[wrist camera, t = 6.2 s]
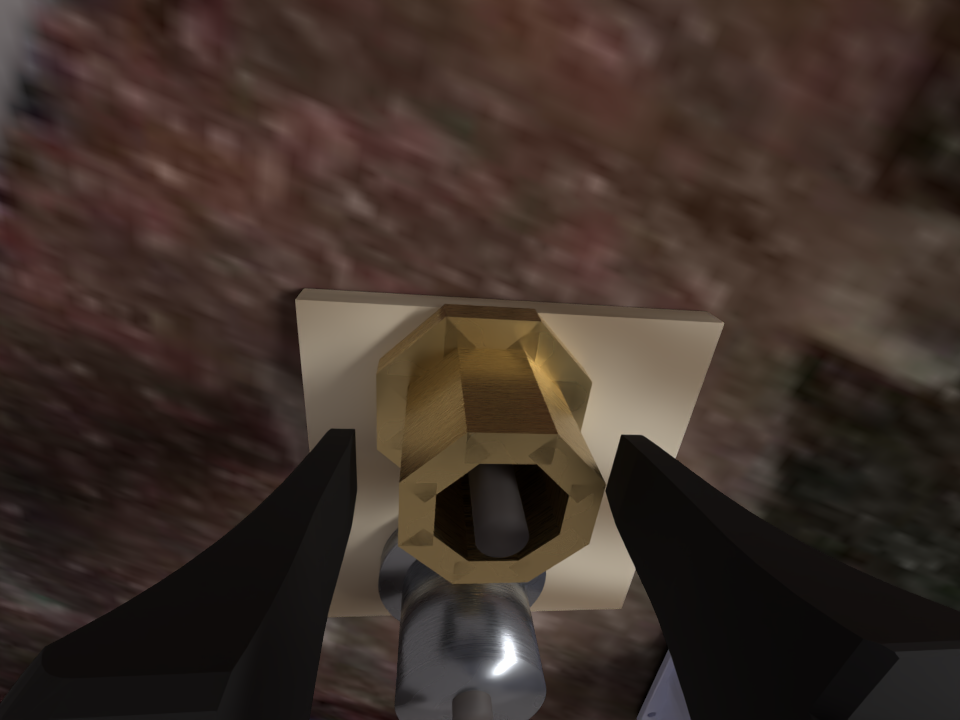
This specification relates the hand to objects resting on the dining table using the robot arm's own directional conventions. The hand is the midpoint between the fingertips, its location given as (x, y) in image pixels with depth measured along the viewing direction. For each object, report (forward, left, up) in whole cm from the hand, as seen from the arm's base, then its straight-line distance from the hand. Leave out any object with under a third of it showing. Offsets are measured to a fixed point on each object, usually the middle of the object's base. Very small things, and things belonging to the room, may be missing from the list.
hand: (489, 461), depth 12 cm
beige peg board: (-4, -1, -4) cm, 6 cm away
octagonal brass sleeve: (0, 0, -3) cm, 3 cm away
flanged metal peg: (-8, 0, -3) cm, 8 cm away
